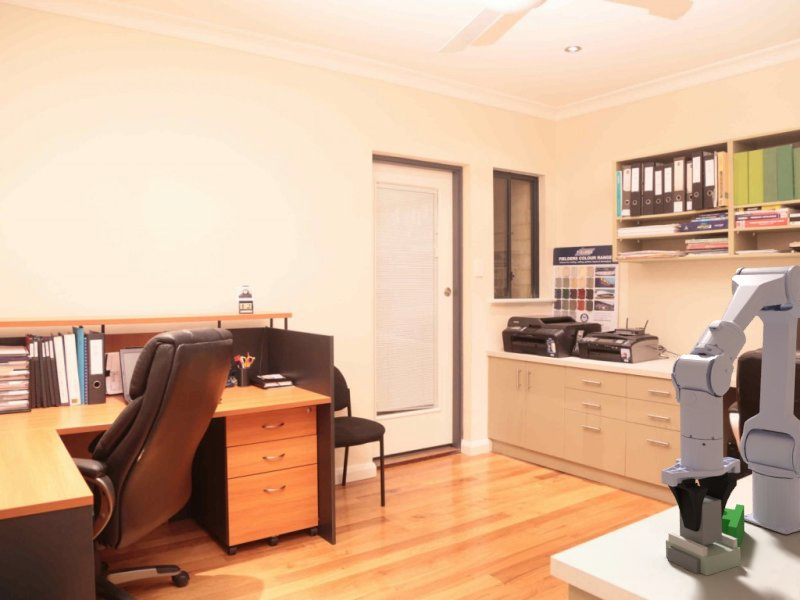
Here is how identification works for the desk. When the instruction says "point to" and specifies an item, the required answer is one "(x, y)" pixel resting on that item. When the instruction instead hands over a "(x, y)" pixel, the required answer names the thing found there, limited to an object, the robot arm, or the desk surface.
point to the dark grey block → (706, 523)
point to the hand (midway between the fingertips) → (702, 526)
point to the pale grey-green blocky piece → (703, 554)
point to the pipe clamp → (734, 523)
